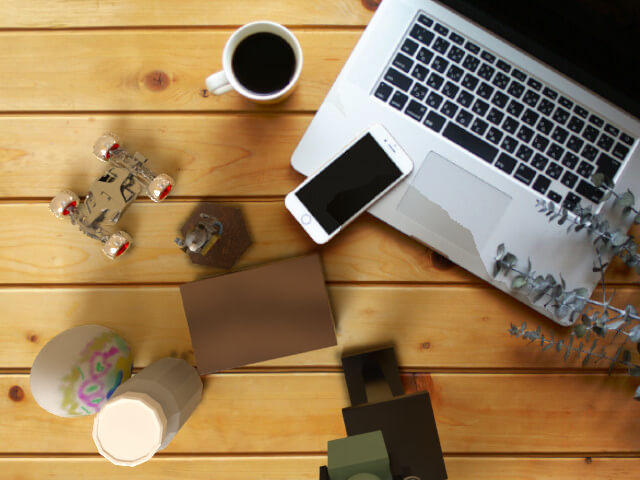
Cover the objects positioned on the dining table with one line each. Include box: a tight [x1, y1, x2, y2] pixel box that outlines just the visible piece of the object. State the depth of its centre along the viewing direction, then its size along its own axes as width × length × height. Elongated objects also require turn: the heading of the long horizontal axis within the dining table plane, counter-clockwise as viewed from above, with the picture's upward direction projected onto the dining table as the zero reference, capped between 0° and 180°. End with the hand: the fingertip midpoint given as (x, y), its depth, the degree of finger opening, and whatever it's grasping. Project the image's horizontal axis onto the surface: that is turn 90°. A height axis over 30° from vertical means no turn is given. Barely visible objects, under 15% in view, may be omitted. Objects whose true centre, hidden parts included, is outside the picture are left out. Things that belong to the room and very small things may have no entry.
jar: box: [91, 356, 204, 468], centre depth 70 cm, size 10×10×18 cm
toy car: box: [48, 131, 176, 260], centre depth 76 cm, size 15×12×5 cm
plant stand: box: [340, 344, 449, 480], centre depth 65 cm, size 9×9×26 cm
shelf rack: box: [178, 251, 339, 377], centre depth 73 cm, size 12×18×11 cm, turn 103°
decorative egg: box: [29, 324, 134, 419], centre depth 71 cm, size 12×12×15 cm
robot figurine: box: [173, 201, 253, 271], centre depth 72 cm, size 11×9×12 cm
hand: (361, 479), depth 38 cm, fingers closed on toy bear, 4 cm apart
